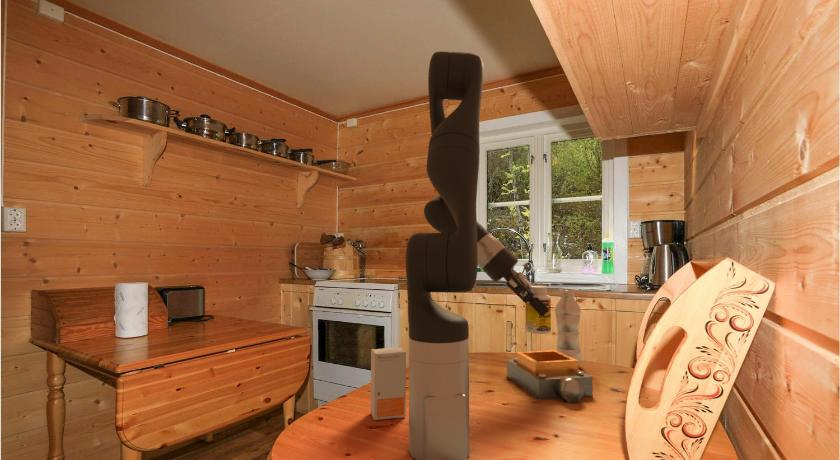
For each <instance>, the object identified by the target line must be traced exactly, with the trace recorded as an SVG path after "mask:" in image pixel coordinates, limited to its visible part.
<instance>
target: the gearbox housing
mask: <svg viewBox="0 0 840 460" xmlns="http://www.w3.org/2000/svg"><path fill="white" fill-rule="evenodd" d="M515 354H516V355H515V356H516V357H513V358H512V359H506V377H508V378H509V379H510V380H511V381H513V382H514V383H516V385H518V386H519V387H521V388H522V389H524V391H527V393H529V394H530V395H531V396H533V397H534V398H536V399H537V400H538V401H546V400H560V399H564V400H565V401H566V402H568V403H571V404H576V403H578V402H580V401H581V400H582V399H583V398H585V397H593V396H594V395H593V391H594V390H593V389H594V387H593V376H591V375H590V374H587V373H585V371H582V370H580V369H579V366H580V365H579V361H578V360H576V359H574V358H572V357H570V356H567V355H565V354H563V353H561V352H559V351H556V349H553V350H536V351H532V350H531V351H517V352H516V353H515Z"/></svg>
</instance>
